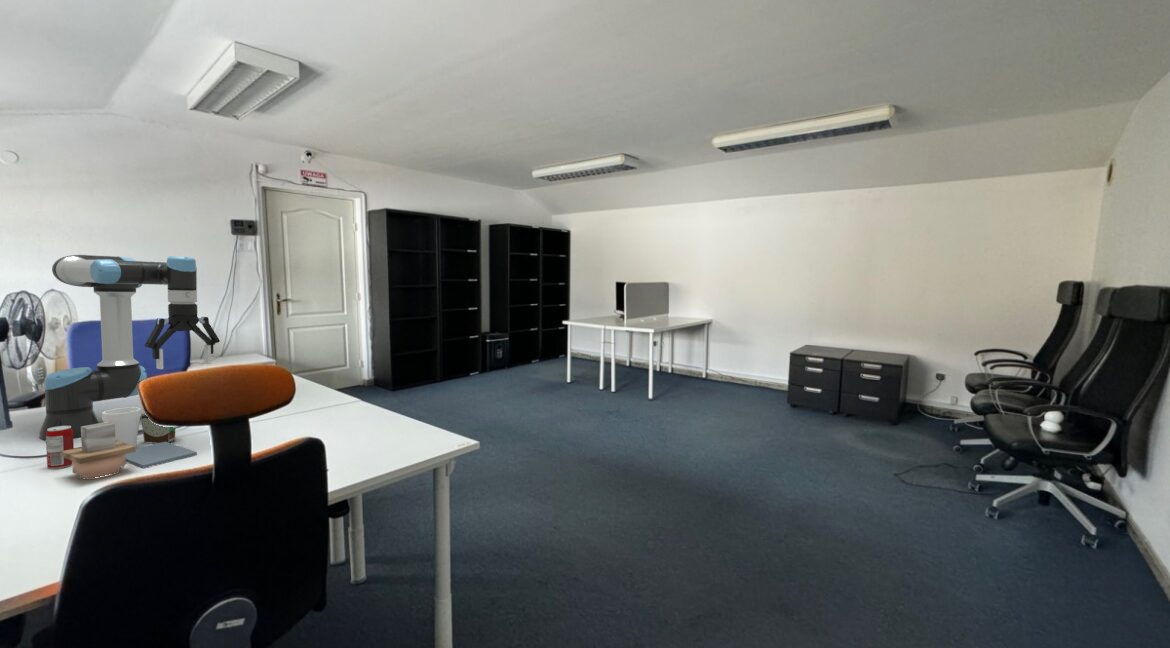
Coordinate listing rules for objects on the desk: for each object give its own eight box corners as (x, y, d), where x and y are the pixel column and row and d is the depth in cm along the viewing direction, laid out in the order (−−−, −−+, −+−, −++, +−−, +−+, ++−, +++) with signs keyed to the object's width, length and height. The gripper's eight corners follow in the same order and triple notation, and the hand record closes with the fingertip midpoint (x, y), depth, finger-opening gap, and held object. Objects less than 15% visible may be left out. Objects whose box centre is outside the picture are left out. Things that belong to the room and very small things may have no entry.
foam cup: (98, 455, 156) (96, 415, 155) (109, 446, 164) (108, 408, 163) (137, 451, 161) (135, 412, 160) (146, 442, 169) (145, 406, 168)
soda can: (73, 461, 150) (71, 423, 149) (75, 466, 147) (73, 427, 146) (46, 466, 146) (44, 427, 145) (48, 470, 143) (46, 430, 142)
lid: (61, 456, 138) (60, 427, 138) (116, 444, 149) (115, 417, 149) (80, 464, 133) (78, 433, 133) (135, 451, 144) (134, 423, 143)
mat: (112, 456, 155) (112, 453, 155) (165, 444, 168) (165, 441, 168) (143, 468, 147) (143, 465, 147) (196, 454, 159) (196, 451, 159)
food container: (188, 438, 174) (187, 411, 174) (172, 444, 168) (171, 416, 168) (157, 436, 176) (156, 409, 175) (140, 442, 169) (139, 414, 169)
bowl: (65, 476, 139) (64, 455, 139) (115, 464, 149) (115, 445, 149) (82, 484, 134) (81, 463, 134) (133, 471, 144) (132, 451, 144)
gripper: (141, 304, 149) (143, 372, 151) (230, 303, 172) (231, 362, 173) (129, 303, 153) (132, 369, 154) (218, 302, 175) (219, 360, 177)
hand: (184, 366), depth 164 cm, fingers open, 13 cm apart
